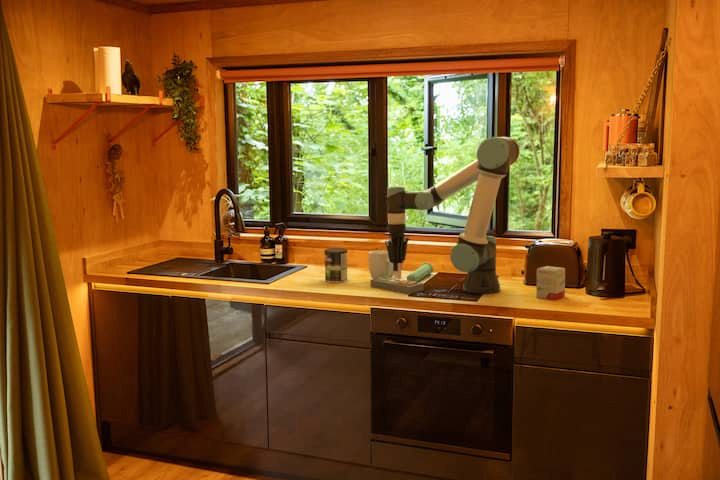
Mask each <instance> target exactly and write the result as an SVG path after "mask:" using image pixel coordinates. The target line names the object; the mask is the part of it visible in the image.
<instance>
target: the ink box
mask: <svg viewBox="0 0 720 480" xmlns="http://www.w3.org/2000/svg"><path fill="white" fill-rule="evenodd" d="M535 287H536V289H535V291H536V293H535V294H536V298H539V299H548V300H554V301H558V300H559V299H561V298H564V297H565V296H566V268H565V267H560V266H559V267H557V266H551V265H546V266H542V267H538V268H536V286H535Z"/></svg>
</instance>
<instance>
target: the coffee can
mask: <svg viewBox="0 0 720 480" xmlns="http://www.w3.org/2000/svg"><path fill="white" fill-rule="evenodd" d="M323 252H324V281H325V283H330V284H331V283H332V284H341V283H346V282H348V249H347V248H341V247H340V248H339V247H338V248H337V247H332V248H325V249H324V251H323Z"/></svg>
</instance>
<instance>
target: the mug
mask: <svg viewBox="0 0 720 480" xmlns="http://www.w3.org/2000/svg"><path fill="white" fill-rule="evenodd" d="M367 255H368V269H369V274H370V277H371V278H372V279H371V280H373V279H377V278H381V277H390V278H394V270H393V263H391V262H390V261H389V256H388V251H387V249H386V250H385V249H384V250H383V249H382V250H371V251H368V254H367Z"/></svg>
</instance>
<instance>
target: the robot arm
mask: <svg viewBox="0 0 720 480" xmlns="http://www.w3.org/2000/svg"><path fill="white" fill-rule="evenodd" d="M476 149H477V150H476V159H475V160H474V161H472V162H469V164H467V165H466V166H463V168H460V169H459V170H457V171H456V172H454V173H452V174H451V175H449V176H448V177H446V178H444V179H443V180H441V181H439V182H437V183H436V184H435V185H433V186H431V187H430V188H427V189H423V190H415V191H413V190H411V191H410V190H409V191H408V190H406V189H405V188H406V187H405V186H403V185H392V186H388V187H387V190H386V201H387V202H386V204H387V223H388V224H387V232H388V233H389V236H388V239H387V240H385V241H384V243H385V246H386V251H388V256H389V261H390V262H391V263H393V270H394V275H393V278H395V279H401V280H402V270H403V265H402V264H404V262H405V260H406V255H407V249H408V242H409V237H406V236H405V233H406V232H407V231H406V230H407V229H406V228H407V227H406V225H407V224H406V219H407V218H406V210H415V211H416V210H418V211H428V210H430V209H432V208H433V207H434V208H435V207H437V206H439V205H441V204H443V202H444V201H445V200H446V199H448V198H450V197H452V196H453V195H455V194H457V193H459V192H460V191H463V190H464V189H466V188H467V187H469V186H471V185H472V184H474V183H476V185H475V189H474V193H473V196H472V201H471V205H470V208H469V212H468V215H467V220H466V223H465V227H464V231H463V232H460V233H459V235H458V239H457V242H456V245H454V246H453V248H451V251H450V254H449V256H450V257H449V258H450V262H451V264H452V265H453V267H454V269H456V270H458V271H459V272H461V273H466V276H465V278H464V282H463V286H462V287H463V288H462V290H463V291H464V292H467V293H471V294H495V293H499V292H500V291H501V285H500V281H499V277H498V275H497V245H498V244H497V238H496V236H493V235H487V233H488V229H489V226H490V221H491V219H492V214H493V210H494V206H495V202H496V199H497V195H498V193H499V188H500V184H501V180H502V179H503V178H505V177H506V176H507V174H508V171H509V166H511V165H514V164H516V163H515V162H517V160H518V159H519V156H520V146H519V144H518V142H517V141H516V140H515V139H514V138H512V137H510V136H492V137H491V136H490V137H488V138H486V139H484V140H483V141H481V143H480V144H479V145H478V147H477V148H476Z"/></svg>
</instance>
